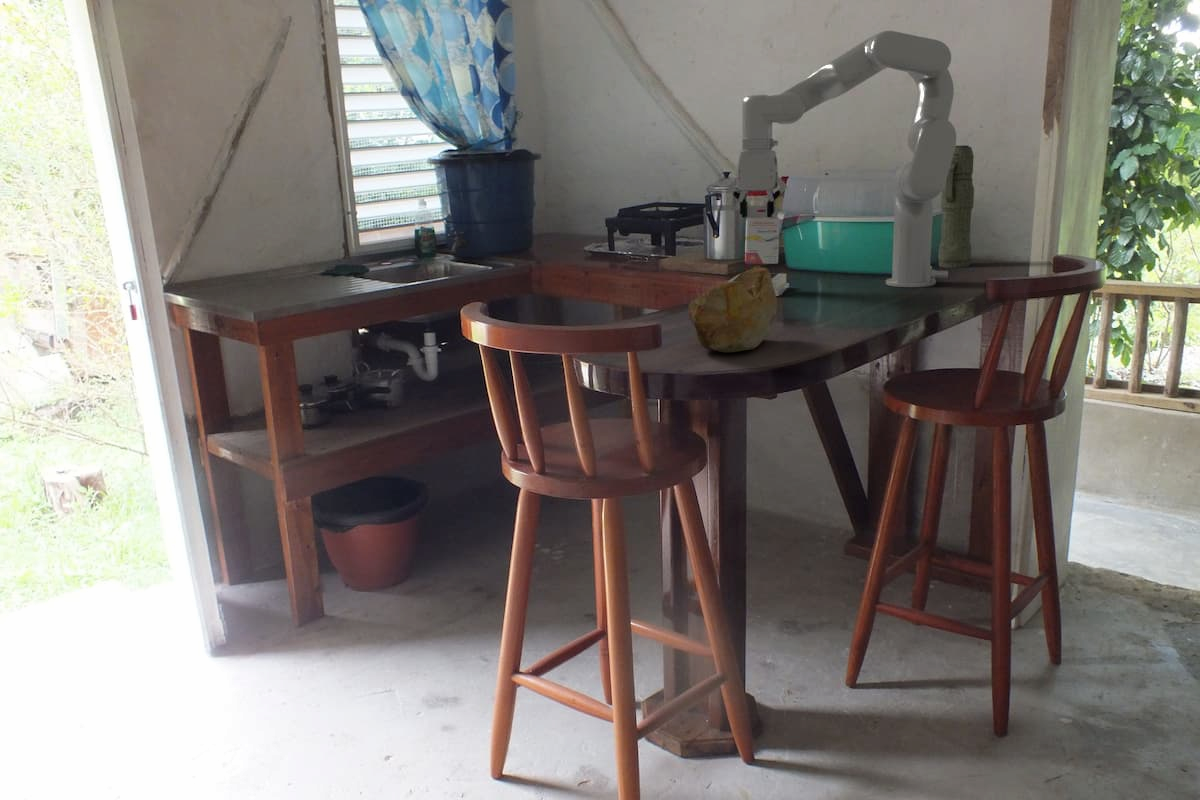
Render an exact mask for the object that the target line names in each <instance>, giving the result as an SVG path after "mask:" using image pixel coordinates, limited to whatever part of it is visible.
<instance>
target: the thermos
mask: <svg viewBox="0 0 1200 800" xmlns="http://www.w3.org/2000/svg"><path fill="white" fill-rule="evenodd" d="M974 156H975V155H974V151H973V147H971V146H969V145H956V146H955V150H954V154H953V158H952V161H951V165H950V169H949V172H948V176H947V179H946V182H945V185H944V187H943V189H942V191H941V200H940V201H941V202H940V204H941V205H940V208H941V211H942V213H941V214H942V217H941V235H940V236H941V237H940V243H939V246H938V258H937V259H938V267H940V268H952V269H953V268H954V269H955V268H965V267H969V266H970V261H971V258H972V257H971V256H972V244H971V239H970V237H971V224H972V223H971V221H972V219H971V218H972V210H973V209H974V199H975V198H974V197H975V187H974V184H973V173H974V172H973V171H974V160H975V159H974Z"/></svg>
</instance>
